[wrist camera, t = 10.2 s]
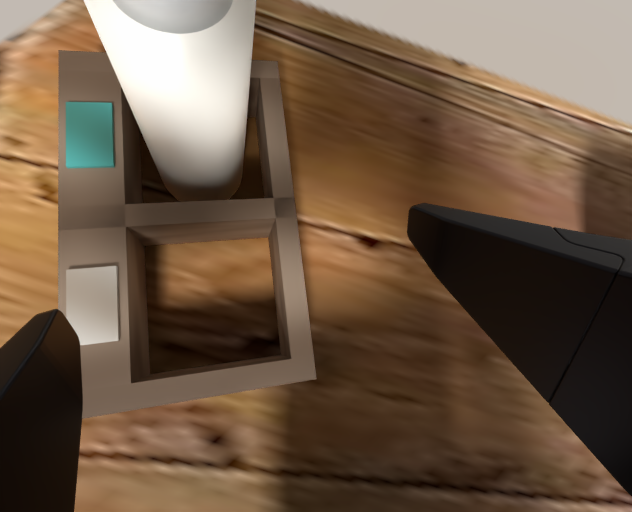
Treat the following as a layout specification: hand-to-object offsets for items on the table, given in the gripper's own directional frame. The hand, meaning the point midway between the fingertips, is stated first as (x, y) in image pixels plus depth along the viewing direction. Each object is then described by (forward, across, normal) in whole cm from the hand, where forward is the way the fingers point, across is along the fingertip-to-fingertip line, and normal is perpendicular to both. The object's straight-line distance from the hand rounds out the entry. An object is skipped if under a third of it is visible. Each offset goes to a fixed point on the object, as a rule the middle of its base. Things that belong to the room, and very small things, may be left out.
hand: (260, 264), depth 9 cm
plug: (+13, 0, +2) cm, 13 cm away
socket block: (+10, +1, +4) cm, 11 cm away
